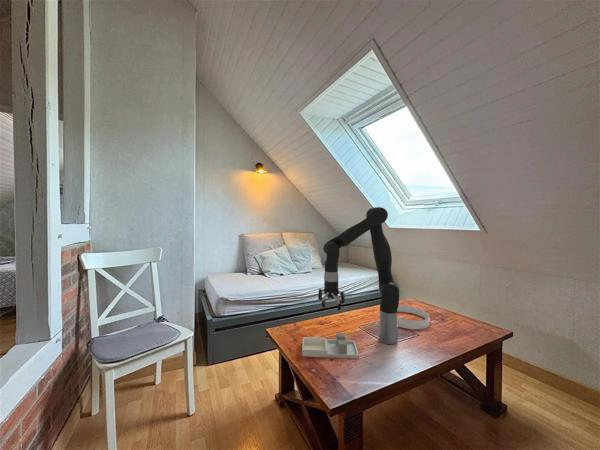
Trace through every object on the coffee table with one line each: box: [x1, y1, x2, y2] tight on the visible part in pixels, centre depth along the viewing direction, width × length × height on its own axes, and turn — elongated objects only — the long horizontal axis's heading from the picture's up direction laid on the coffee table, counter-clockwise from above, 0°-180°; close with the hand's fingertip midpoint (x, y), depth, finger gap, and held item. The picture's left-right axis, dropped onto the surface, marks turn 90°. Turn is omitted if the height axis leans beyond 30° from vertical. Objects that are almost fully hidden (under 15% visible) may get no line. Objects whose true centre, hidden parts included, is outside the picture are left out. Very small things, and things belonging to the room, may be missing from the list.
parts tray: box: [326, 338, 360, 359], centre depth 130 cm, size 15×14×2 cm
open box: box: [301, 336, 328, 358], centre depth 130 cm, size 12×12×4 cm
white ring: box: [397, 304, 431, 330], centre depth 168 cm, size 27×27×6 cm
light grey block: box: [338, 339, 347, 354], centre depth 126 cm, size 4×4×6 cm
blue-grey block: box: [336, 332, 346, 348], centre depth 134 cm, size 4×4×6 cm
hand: (331, 308), depth 136 cm, fingers open, 8 cm apart
